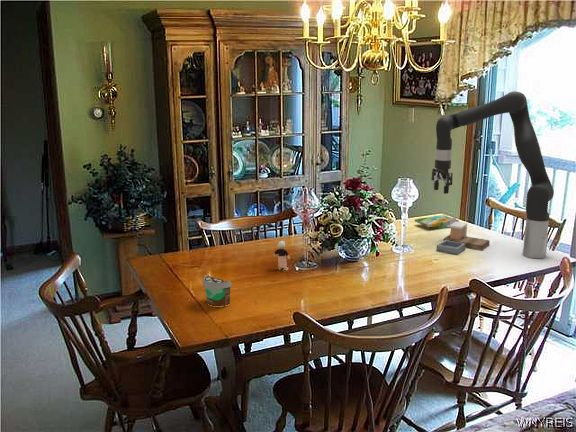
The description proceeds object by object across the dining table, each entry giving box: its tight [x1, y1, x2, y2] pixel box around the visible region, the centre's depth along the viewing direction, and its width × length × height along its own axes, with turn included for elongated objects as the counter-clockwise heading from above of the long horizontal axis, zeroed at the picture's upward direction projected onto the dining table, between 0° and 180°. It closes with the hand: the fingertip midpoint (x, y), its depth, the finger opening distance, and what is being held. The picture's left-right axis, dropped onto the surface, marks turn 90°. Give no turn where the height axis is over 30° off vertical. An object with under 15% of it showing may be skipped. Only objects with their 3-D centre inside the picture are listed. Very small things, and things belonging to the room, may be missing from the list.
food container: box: [202, 273, 233, 306], centre depth 202 cm, size 12×6×10 cm, turn 52°
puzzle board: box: [442, 234, 491, 252], centre depth 268 cm, size 19×10×2 cm, turn 53°
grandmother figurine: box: [272, 240, 291, 271], centre depth 237 cm, size 8×4×13 cm, turn 74°
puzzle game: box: [414, 214, 460, 230], centre depth 299 cm, size 12×5×20 cm
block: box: [449, 227, 463, 240], centre depth 270 cm, size 4×4×8 cm
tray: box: [435, 240, 466, 256], centre depth 260 cm, size 10×10×3 cm
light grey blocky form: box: [447, 216, 468, 237], centre depth 270 cm, size 7×8×9 cm
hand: (440, 191), depth 270 cm, fingers open, 8 cm apart
